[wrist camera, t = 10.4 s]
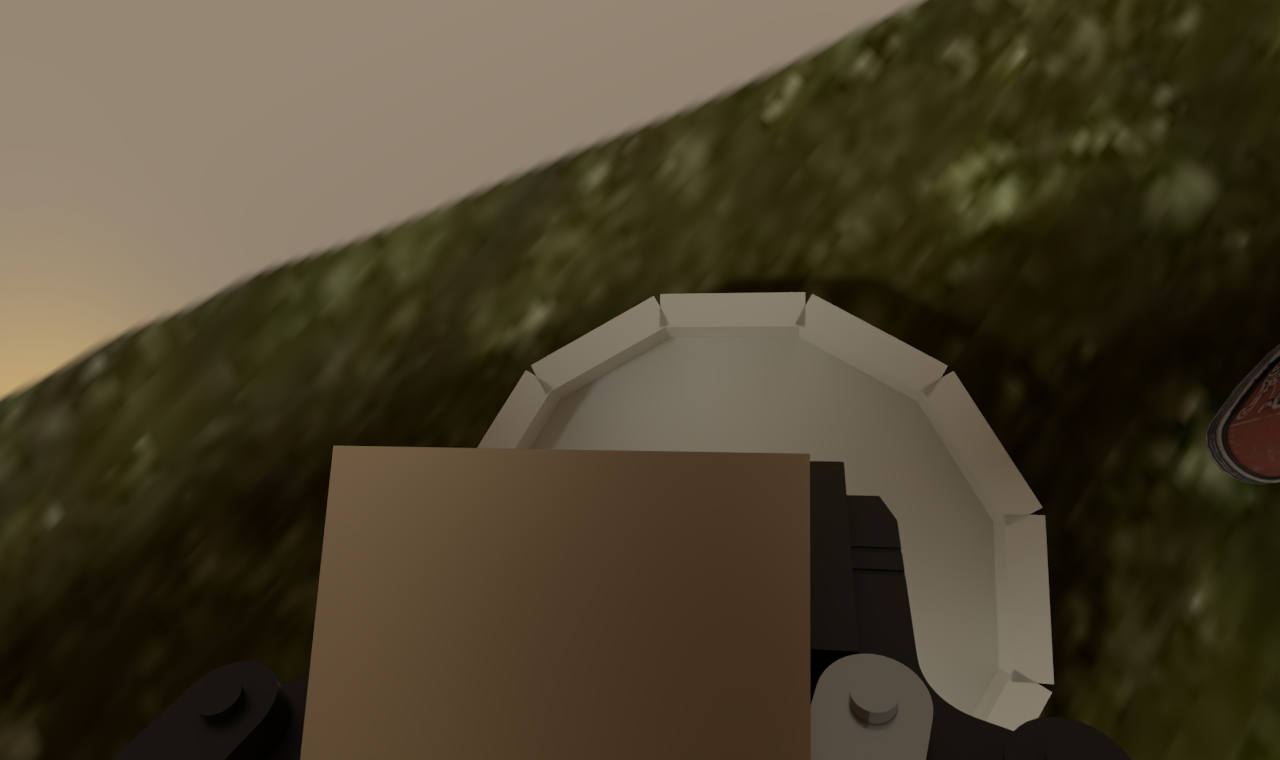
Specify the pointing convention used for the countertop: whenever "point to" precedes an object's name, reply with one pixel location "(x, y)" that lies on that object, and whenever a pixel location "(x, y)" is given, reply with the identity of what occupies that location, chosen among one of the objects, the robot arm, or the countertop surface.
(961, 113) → the countertop surface
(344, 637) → the oak block
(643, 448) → the round dish
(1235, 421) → the lighter
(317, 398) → the countertop surface
